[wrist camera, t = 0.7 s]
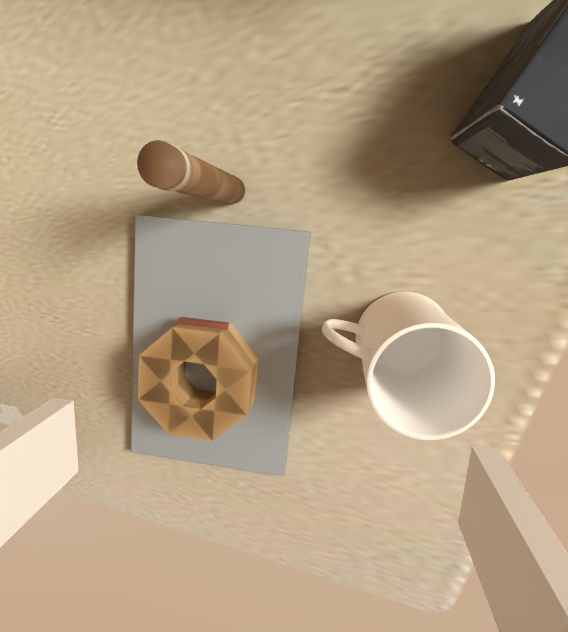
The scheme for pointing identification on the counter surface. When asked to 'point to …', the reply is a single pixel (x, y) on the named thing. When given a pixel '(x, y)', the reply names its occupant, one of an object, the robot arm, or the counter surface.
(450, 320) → the mug
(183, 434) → the bead
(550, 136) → the box
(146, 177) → the brown cigar
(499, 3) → the counter surface
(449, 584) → the counter surface
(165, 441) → the board
